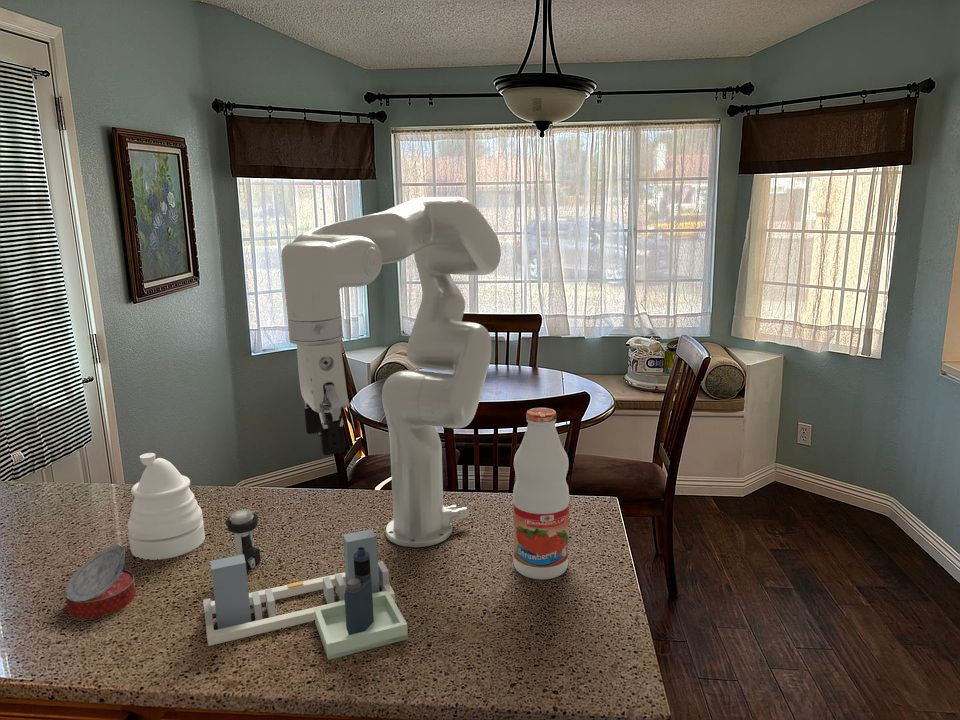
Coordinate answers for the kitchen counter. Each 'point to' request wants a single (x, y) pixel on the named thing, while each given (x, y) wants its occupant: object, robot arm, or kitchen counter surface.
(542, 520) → the fruit juice
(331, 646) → the tray
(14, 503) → the kitchen counter surface
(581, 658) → the kitchen counter surface
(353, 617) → the vaping device
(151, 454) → the honey pot
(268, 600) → the rail
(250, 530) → the push button
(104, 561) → the canned food
